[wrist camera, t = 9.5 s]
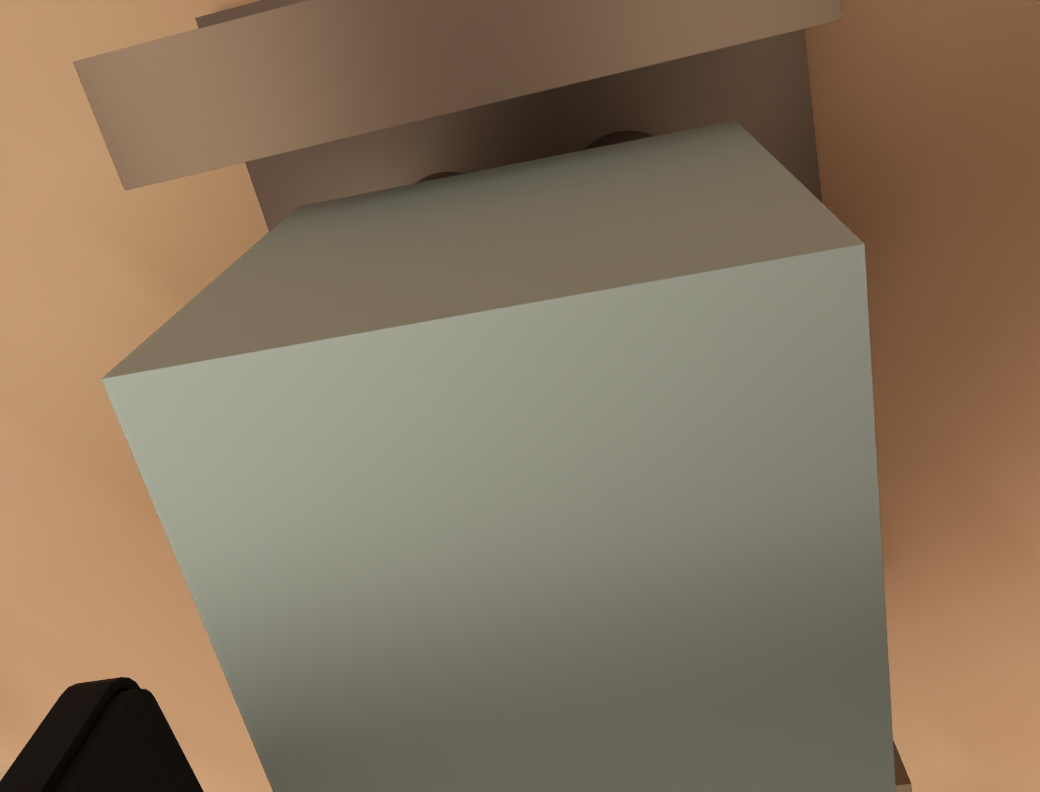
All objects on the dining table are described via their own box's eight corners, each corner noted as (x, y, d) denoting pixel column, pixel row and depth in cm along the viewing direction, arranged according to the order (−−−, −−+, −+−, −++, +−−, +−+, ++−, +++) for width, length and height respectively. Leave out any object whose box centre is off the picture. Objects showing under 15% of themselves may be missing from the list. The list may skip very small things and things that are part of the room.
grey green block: (735, 120, 12) (865, 242, 7) (799, 707, 16) (912, 1082, 11) (298, 206, 13) (100, 378, 8) (461, 747, 17) (407, 1115, 12)
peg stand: (774, -133, 17) (922, -204, 10) (853, 583, 23) (978, 861, 16) (213, 15, 19) (-16, 47, 11) (428, 649, 25) (369, 930, 18)
